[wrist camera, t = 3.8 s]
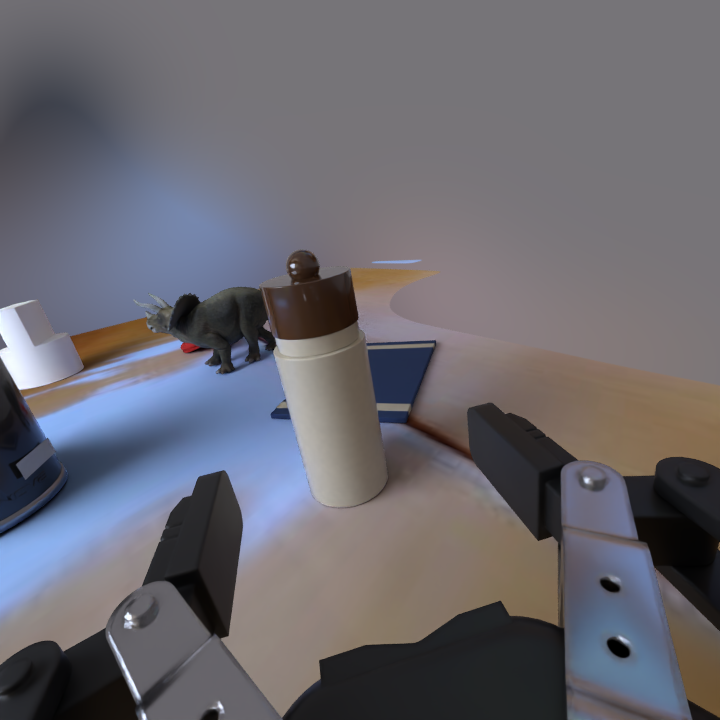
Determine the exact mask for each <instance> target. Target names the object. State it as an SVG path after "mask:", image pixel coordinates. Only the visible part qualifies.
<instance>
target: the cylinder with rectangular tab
mask: <svg viewBox="0 0 720 720" xmlns="http://www.w3.org/2000/svg"><path fill="white" fill-rule="evenodd" d="M0 334H1V336H2V338H3V339H4V341H5V343H6V345H7V346H8V347H6V348H4V349H2V350H0V357H1V358H2V360H3V362H4V364H5V366H6V367H7V369H8V371H9V373H10V374H11V376H12V378H13V380H14V381H15V383H16V385H17V387H18V389H30V388H35V387H40V386H43V385H47V384H50V383H53V382H56V381H59V380H62V379H65V378H67V377H69V376H72V375H74V374H76V373H78V372H79V371H81V370H82V369H83V368H84V365H83V363H82V361H81V359H80V357H79V355H78V353H77V351H76V349H75V347H74V345H73V342H72V340H71V338H70V336H69V334H68V333H58V334H55V333H54V331H53V329H52V327H51V325H50V323H49V321H48V319H47V317H46V315H45V313H44V311H43V309H42V307H41V305H40V303H39V301H38V300H32V301H27V302H22V303H17V304H14V305H11V306H8V307H5V308H2V309H0Z"/></svg>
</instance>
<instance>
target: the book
mask: <svg viewBox="0 0 720 720" xmlns="http://www.w3.org/2000/svg"><path fill="white" fill-rule="evenodd" d="M435 345H436V340H432V341H409V342H386V343H367V349H368V355H369V361H370V367H371V373H372V379H373V385H374V391H375V397H376V403H377V409H378V415H379V421H380V422H389V423H406V422H407V419H408V416H409V414H410V411H411V409H412V406H413V403H414V401H415V398H416V395H417V393H418V390H419V387H420V385H421V382H422V380H423V377H424V374H425V372H426V369H427V366H428V364H429V361H430V358H431V356H432V353H433V351H434V348H435ZM271 418H279V419H291V417H290V414H289V410H288V406H287V403H286V399H285V400H284V401H283V402H281V403H280V404H279V405H278V406H277V407H276V409H275V410H274V411H273V412H272V413H271Z"/></svg>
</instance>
